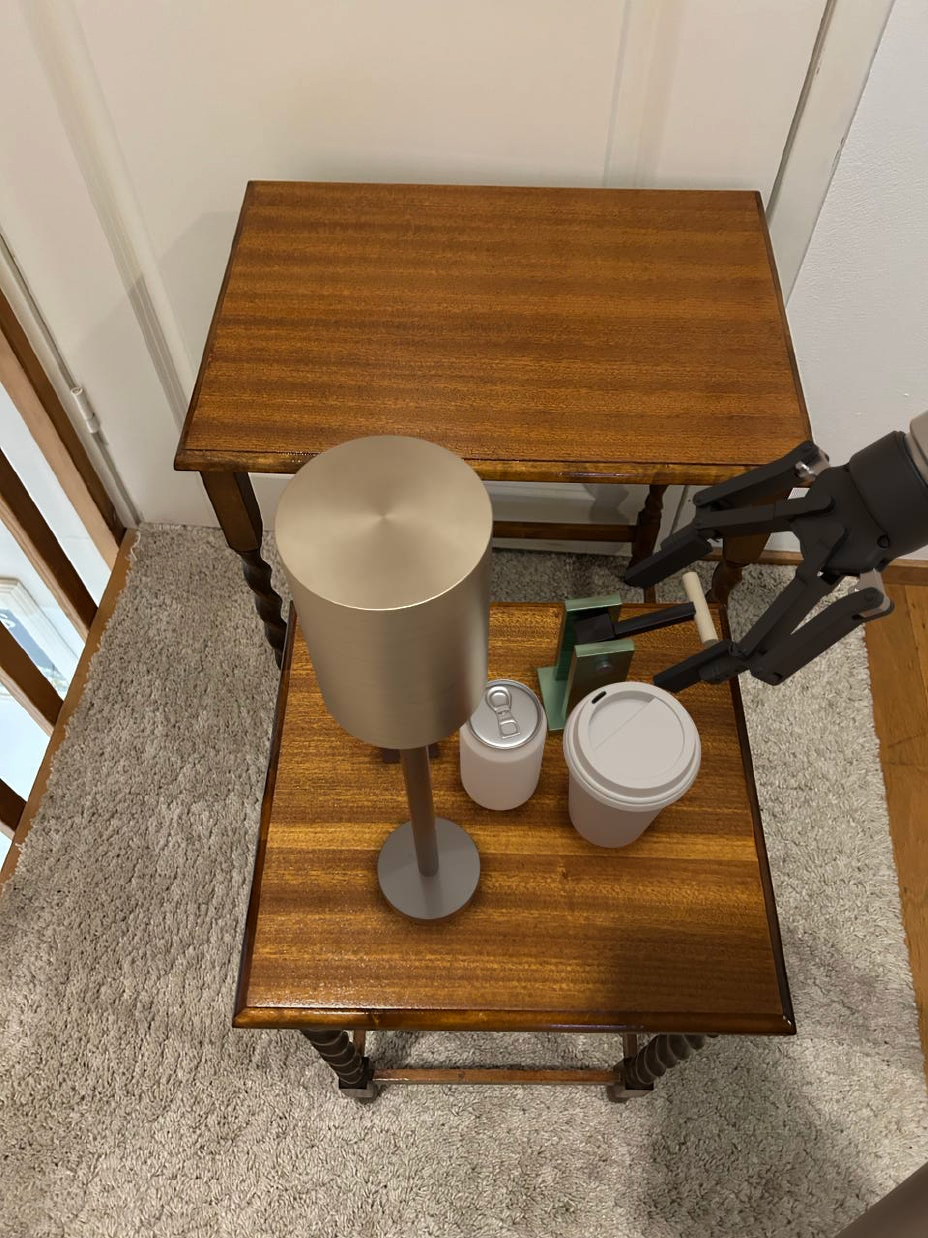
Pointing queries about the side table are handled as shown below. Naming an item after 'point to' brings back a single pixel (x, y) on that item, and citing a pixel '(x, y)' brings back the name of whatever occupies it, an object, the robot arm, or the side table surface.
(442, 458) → the lamp
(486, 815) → the side table surface
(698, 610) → the lever
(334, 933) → the side table surface
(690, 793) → the side table surface
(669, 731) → the coffee cup
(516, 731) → the can
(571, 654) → the bracket
